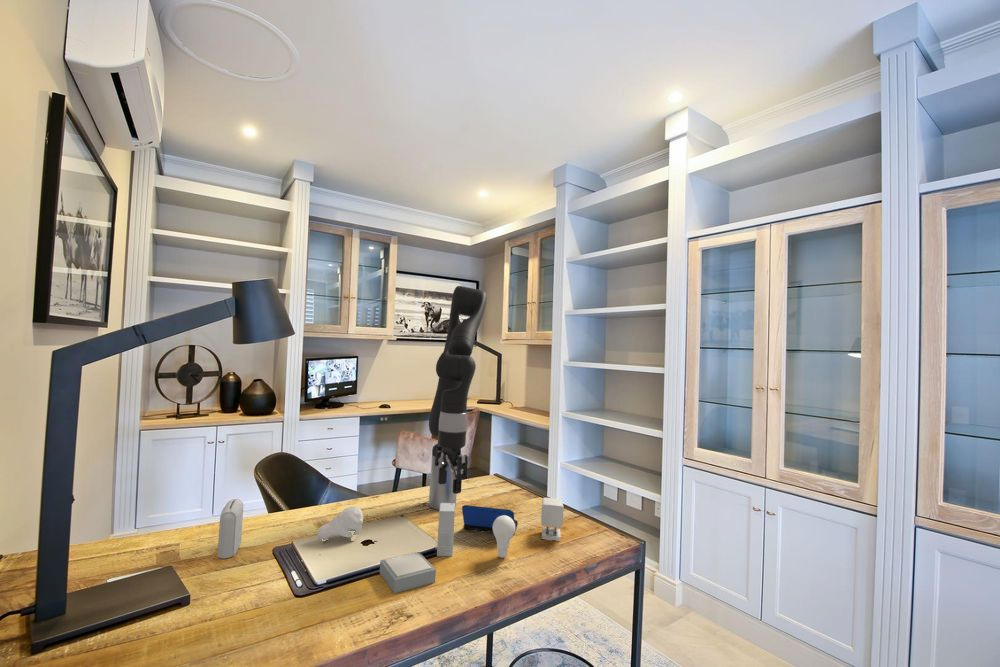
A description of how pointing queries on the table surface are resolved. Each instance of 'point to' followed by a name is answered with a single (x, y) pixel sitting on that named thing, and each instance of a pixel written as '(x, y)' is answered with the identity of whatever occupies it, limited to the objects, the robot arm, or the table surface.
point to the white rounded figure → (343, 524)
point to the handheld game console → (483, 517)
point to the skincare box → (446, 529)
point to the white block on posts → (552, 518)
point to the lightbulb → (503, 533)
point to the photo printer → (230, 528)
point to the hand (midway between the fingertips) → (449, 488)
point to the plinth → (407, 572)
